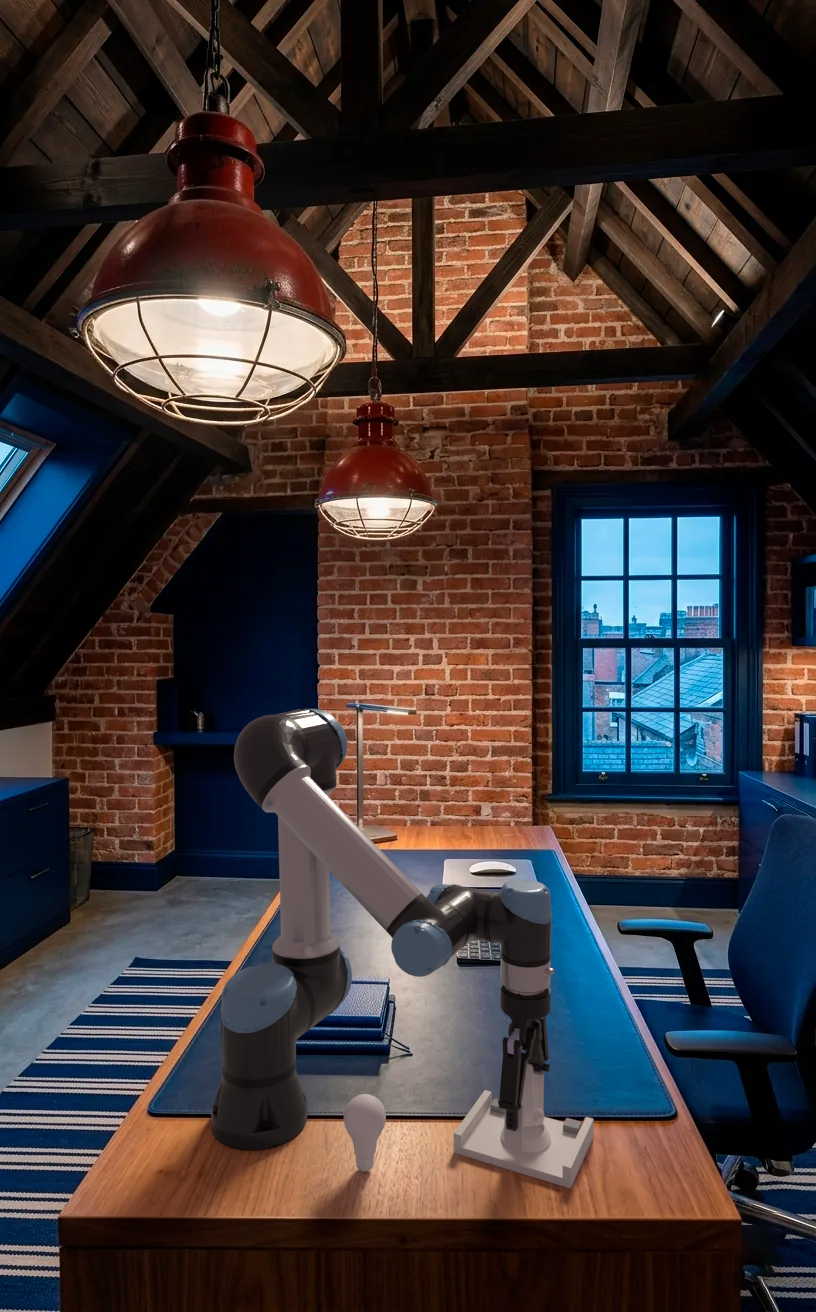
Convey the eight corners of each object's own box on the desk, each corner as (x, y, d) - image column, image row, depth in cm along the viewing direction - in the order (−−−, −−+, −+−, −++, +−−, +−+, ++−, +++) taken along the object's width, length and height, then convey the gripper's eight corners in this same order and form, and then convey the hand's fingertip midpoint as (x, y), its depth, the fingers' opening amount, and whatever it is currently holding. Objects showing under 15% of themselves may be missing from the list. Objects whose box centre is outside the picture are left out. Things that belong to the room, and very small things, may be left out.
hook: (537, 1072, 138) (555, 1066, 132) (540, 1157, 131) (559, 1154, 125) (494, 1068, 136) (510, 1061, 130) (495, 1153, 129) (512, 1150, 124)
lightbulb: (391, 1162, 125) (391, 1089, 124) (376, 1188, 119) (376, 1112, 119) (353, 1153, 127) (353, 1082, 126) (337, 1179, 121) (337, 1104, 121)
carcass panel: (453, 1152, 127) (453, 1133, 127) (484, 1107, 139) (484, 1089, 139) (570, 1188, 119) (570, 1168, 119) (593, 1137, 131) (593, 1118, 131)
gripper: (526, 1021, 116) (525, 1179, 117) (569, 963, 136) (568, 1098, 137) (475, 1010, 120) (475, 1163, 121) (524, 954, 139) (524, 1087, 140)
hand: (524, 1129), depth 129 cm, fingers open, 9 cm apart
